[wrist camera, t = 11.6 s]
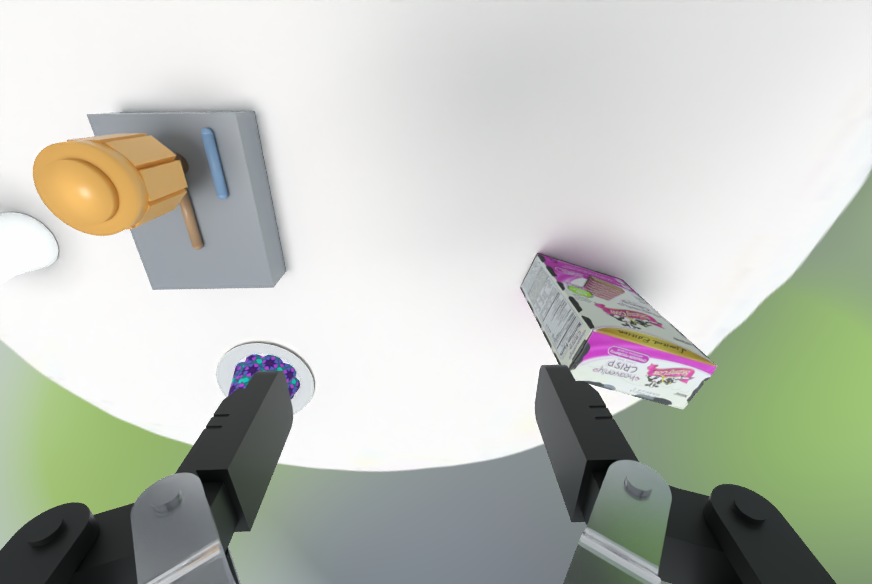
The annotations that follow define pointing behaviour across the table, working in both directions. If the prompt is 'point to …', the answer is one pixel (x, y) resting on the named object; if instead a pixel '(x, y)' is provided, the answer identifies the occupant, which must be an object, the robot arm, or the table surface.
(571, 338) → the candy bar box
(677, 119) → the table surface
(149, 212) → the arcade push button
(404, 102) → the table surface
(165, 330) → the table surface
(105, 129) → the box
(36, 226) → the beer glass
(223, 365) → the pudding
